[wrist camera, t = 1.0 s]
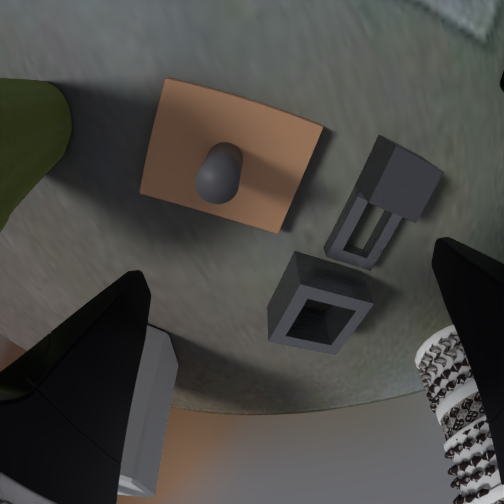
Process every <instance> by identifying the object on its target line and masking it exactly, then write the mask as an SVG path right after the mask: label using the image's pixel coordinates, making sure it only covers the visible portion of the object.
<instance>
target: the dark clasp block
mask: <svg viewBox="0 0 504 504" xmlns="http://www.w3.org/2000/svg"><path fill="white" fill-rule="evenodd" d="M442 174H443V172H442V171H441V170H440V169H438V168H437V167H436V166H434V165H433V164H431V163H430V162H428V161H427V160H425V159H424V158H422V157H421V156H419V155H417V154H415V153H413V152H412V151H410V150H408V149H406V148H404V147H402V146H400V145H399V144H397V143H395V142H393V141H391V140H389V139H387V138H385V137H383V136H381V135H378V138H377V140H376V142H375V144H374V146H373V149H372V151H371V153H370V155H369V157H368V159H367V162H366V164H365V166H364V168H363V170H362V172H361V174H360V176H359V178H358V181H357V183H356V185H355V187H354V189H353V191H352V193H351V195H350V197H349V199H348V201H347V203H346V205H345V207H344V209H343V211H342V213H341V215H340V217H339V219H338V221H337V223H336V225H335V227H334V229H333V231H332V233H331V235H330V237H329V239H328V240H327V242H326V244H325V246H324V251H325V254H326V257H329V258H332V259H335V260H338V261H342V262H345V263H348V264H351V265H354V266H357V267H361V268H364V269H367V270H370V271H371V269H372V268H373V266H374V265H375V263H376V261H377V260H378V258H379V256H380V255H381V253H382V251H383V250H384V248H385V246H386V245H387V243H388V241H389V240H390V238H391V236H392V235H393V233H394V231H395V229H396V228H397V226H398V224H399V222H400V221H401V219H402V217H403V218H406V219H408V220H410V221H412V222H415V223H416V222H417V220H418V218H419V217H420V215H421V213H422V211H423V209H424V208H425V206H426V204H427V202H428V200H429V199H430V197H431V195H432V193H433V191H434V189H435V187H436V185H437V183H438V181H439V180H440V178H441V176H442ZM367 203H370V204H373V205H375V206H378V207H380V208H382V209H385V211H384V213H383V215H382V216H381V218H380V220H379V222H378V224H377V226H376V227H375V229H374V231H373V233H372V235H371V236H370V238H369V240H368V242H367V243H366V245H365V247H364V249H363V250H362V249H359V248H356V247H353V246H350V245H347V244H346V243H347V241H348V239H349V237H350V236H351V234H352V232H353V230H354V228H355V226H356V224H357V222H358V221H359V219H360V217H361V215H362V213H363V211H364V209H365V207H366V205H367Z"/></svg>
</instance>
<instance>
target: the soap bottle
mask: <svg viewBox="0 0 504 504" xmlns="http://www.w3.org/2000/svg"><path fill="white" fill-rule="evenodd" d="M178 366H179V365H178V362H177V359H176V356H175V353H174V350H173V346H172V343H171V340H170V337H169V335H168V334H167V333H166V332H163V331H161V330H158V329H156V328H153V327H151V326H149V325H147V332H146V338H145V344H144V348H143V352H142V357H141V361H140V366H139V370H138V375H137V380H136V384H135V389H134V394H133V399H132V404H131V409H130V415H129V420H128V426H127V431H126V437H125V443H124V450H123V456H122V463H121V471H120V478H119V486H118V494H121V495H129V496H139V497H153V496H154V495H155V491H156V485H157V479H158V472H159V467H160V461H161V455H162V449H163V443H164V438H165V431H166V427H167V421H168V416H169V411H170V406H171V400H172V395H173V390H174V385H175V380H176V376H177V371H178Z"/></svg>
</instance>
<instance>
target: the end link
mask: <svg viewBox="0 0 504 504" xmlns="http://www.w3.org/2000/svg"><path fill="white" fill-rule="evenodd" d="M307 299H311V300H315V301H319V302H323V303H327V304H328V306H327V307H326V309H325V310H324V311H320V310H316V309H312V308H308V307H304V304H305V302H306V301H307ZM373 305H374V302H373V300H372V297H371V295H370V292H369V290H368V288H367V285H366V283H365V280H364V278H363V276H362V273H361V271H358V270H355V269H352V268H348V267H345V266H342V265H339V264H335V263H332V262H329V261H325V260H322V259H319V258H316V257H312V256H309V255H306V254H302V253H299V252H296V251H294V253H293V256H292V258H291V260H290V262H289V264H288V266H287V268H286V270H285V272H284V274H283V276H282V278H281V280H280V282H279V284H278V286H277V288H276V290H275V292H274V294H273V296H272V298H271V300H270V302H269V304H268V306H267V313H268V341H269V342H273V343H278V344H283V345H288V346H293V347H297V348H303V349H308V350H313V351H318V352H324V353H329V354H335V355H336V354H337V352H338V351H339V350H340V349H341V347H342V346H343V345H344V344H345V342H346V341H347V340H348V338H349V337H350V336H351V334H352V333H353V332H354V331H355V329H356V328H357V327H358V325H359V324H360V323H361V321H362V320H363V318H364V317H365V316H366V314H367V313H368V312H369V310H370V309H371V307H372V306H373Z"/></svg>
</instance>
